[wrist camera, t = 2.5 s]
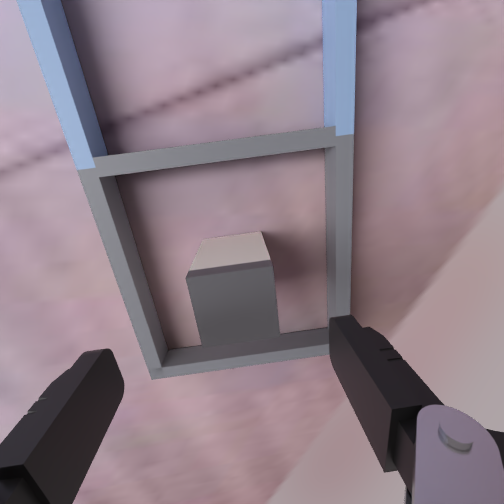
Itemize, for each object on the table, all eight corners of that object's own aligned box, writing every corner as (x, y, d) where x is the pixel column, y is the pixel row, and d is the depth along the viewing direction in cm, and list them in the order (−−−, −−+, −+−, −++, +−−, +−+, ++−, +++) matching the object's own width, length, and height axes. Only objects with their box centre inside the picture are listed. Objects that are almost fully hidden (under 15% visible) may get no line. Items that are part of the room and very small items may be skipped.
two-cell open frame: (342, -278, 10) (364, -371, 8) (339, 335, 20) (349, 351, 18) (-39, -236, 9) (-99, -323, 8) (158, 361, 20) (151, 379, 18)
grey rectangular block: (260, 231, 17) (273, 266, 11) (266, 282, 18) (280, 337, 12) (202, 239, 17) (185, 278, 11) (213, 290, 18) (202, 348, 12)
